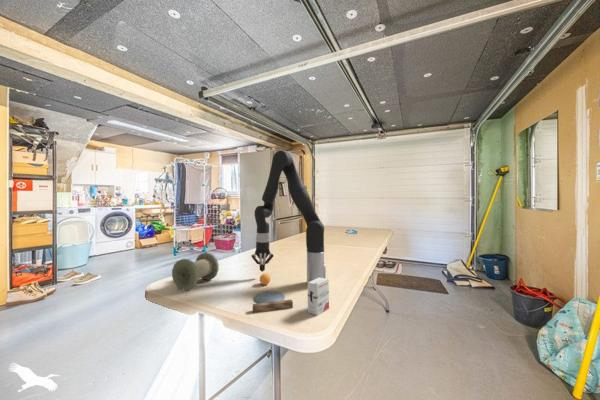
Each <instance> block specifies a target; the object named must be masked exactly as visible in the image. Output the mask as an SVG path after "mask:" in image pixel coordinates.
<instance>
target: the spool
mask: <svg viewBox="0 0 600 400" xmlns="http://www.w3.org/2000/svg"><path fill="white" fill-rule="evenodd" d="M219 266H220V265H219V262H218V258H217V257H216V256H215V255H214V254H213V253H211V252H203V253H200V254H198V256H197V257H196V258H195V261H192V260H190V259H189V258H182V259H180V260H177V261H176V262H175V263H174V265H173V267H172V270H171V271H172V272H171V277H172V281H173V283H174V285H175V287H177V288H178V289H179V290H181V289H184V290H183V291H189V290H191V289H193V288H194V287H195V286H197V282H198V280H199V279H201V278H202V279H201V280H203V279H207V280H206V281H210V280H213V279H215V277H216V276H217V275H218V272H219V269H220V267H219Z"/></svg>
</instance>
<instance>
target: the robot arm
mask: <svg viewBox="0 0 600 400" xmlns="http://www.w3.org/2000/svg"><path fill="white" fill-rule="evenodd" d="M282 173H283V174H284V177H285V179H286V182H287V189H288V193H289V195H290V197H291V200H292V202H293V204H294V205H295V207H296V208H297V209H298V211H299V212H300V213H301V215H302V217H303V219H304V222H305V225H306V228H305V229H306V230H305V241H306V242H305V245H306V285H308V282H310V281H312V280H315V279H317V278H319V277H320V278H325V279H327V276H326V272H327V271H326V270H327V269H326V267H327V266H326V265H325V226H324V224H323V222H322V220H321V219H320V217H319V216H318V214H317V212H316V210H315V207H314V205H313V202H312V199H311V197H310V195H309V193H308V192H309V191H308V190H307V188H306V186H305V185H304V182H303V180H302V178H301V177H300V175H299V173H298V170H297V167H296V164H295V161H294V159H293V156H292V155H291V154H290V153H289V152H286V151H284V150H278V151H276V152H275V153H274V155H273V156H272V161H271V166H270V171H269V176H268V178H267V182H266V186H265V187H264V188H265V189H264V192H263V194H262V197H261V200H262V201H263V205H258V206H256V208H255V209H254V220H255V224H256V236H255V237H256V238H255V251H254V253H253V254H251V255H250V256H251V258H252V259H253V261H254V262H255V263H256V264H257V265H259V270H260V272H264V271H265V270H266V265H267V264H269V263H270V261H271V260H272V259H273V258H274V254H273V253H272V252H271V250H270V224H269V222H267V221H266V219H267V218H270V217H271V215H272V213H273V210H274V205H275V199H276V197H277V194H278V191H279V183H280V178H281V174H282Z"/></svg>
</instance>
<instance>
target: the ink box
mask: <svg viewBox="0 0 600 400" xmlns="http://www.w3.org/2000/svg"><path fill="white" fill-rule="evenodd" d="M329 281H330V280H329V279H328V278H326V279H325V278H320V277H319V278H317V279H315V280H312V281H310V282H308V284H307V312H308V313H310V314H312V315H315V316H319V315H321V314H322V313H324V312H325V311H327V310H328V309H329V308H330V289H329V288H330V285H329ZM326 309H327V310H326ZM323 311H324V312H323ZM320 313H321V314H320Z"/></svg>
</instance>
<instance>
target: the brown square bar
mask: <svg viewBox="0 0 600 400" xmlns="http://www.w3.org/2000/svg"><path fill="white" fill-rule="evenodd" d="M293 303H294V302H293V300H292V299H286V300H285V299H284V300H283V301H275V302H266V303H253V304H252V314H255V313H264V312H270V311H277V310H285V309H291V308H292V309H293V306H294V305H293Z"/></svg>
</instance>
